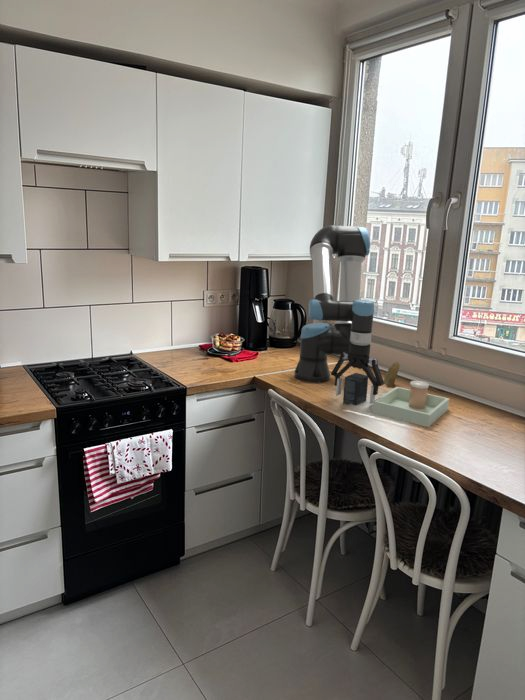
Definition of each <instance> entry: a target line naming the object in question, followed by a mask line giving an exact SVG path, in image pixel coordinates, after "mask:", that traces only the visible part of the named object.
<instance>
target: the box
mask: <svg viewBox="0 0 525 700" xmlns="http://www.w3.org/2000/svg"><path fill="white" fill-rule="evenodd" d="M368 383H369V378H368V376H367V374H364V373H363V374H362V373H359V372H354V373H352V374H349V375H347V376H345V377H344V384H343V386H344V387H343V399H342V400H343V402H342V404H344V405H346V406H349V405H353V406H358V405H360V404H363V403H364V402H366V401H367V398H368V397H367V395H368V387H369V385H368Z"/></svg>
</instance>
